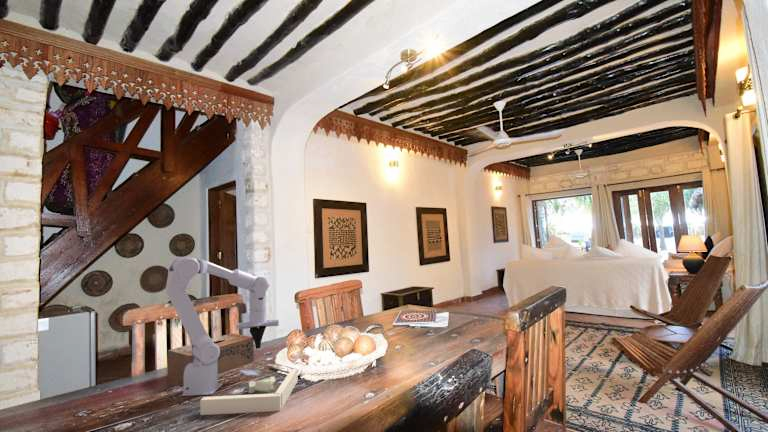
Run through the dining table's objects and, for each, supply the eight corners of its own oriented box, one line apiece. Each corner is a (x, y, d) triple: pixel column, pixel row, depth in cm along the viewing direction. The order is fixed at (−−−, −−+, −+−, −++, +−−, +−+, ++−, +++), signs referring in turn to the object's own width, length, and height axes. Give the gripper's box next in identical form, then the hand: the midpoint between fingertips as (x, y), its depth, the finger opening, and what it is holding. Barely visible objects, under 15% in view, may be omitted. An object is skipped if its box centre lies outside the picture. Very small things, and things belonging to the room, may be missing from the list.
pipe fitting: (278, 395, 107) (273, 386, 113) (278, 382, 107) (273, 374, 113) (250, 401, 103) (247, 392, 109) (250, 388, 103) (247, 379, 109)
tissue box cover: (232, 357, 146) (232, 333, 147) (253, 362, 138) (253, 336, 139) (167, 378, 124) (168, 350, 125) (189, 385, 116) (189, 355, 117)
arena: (200, 415, 95) (200, 400, 95) (232, 384, 116) (232, 372, 116) (280, 410, 95) (280, 396, 96) (297, 380, 116) (297, 368, 116)
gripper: (234, 313, 120) (234, 353, 119) (277, 310, 123) (278, 348, 122) (238, 310, 127) (238, 347, 126) (278, 306, 130) (279, 343, 129)
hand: (258, 347), depth 124 cm, fingers closed
